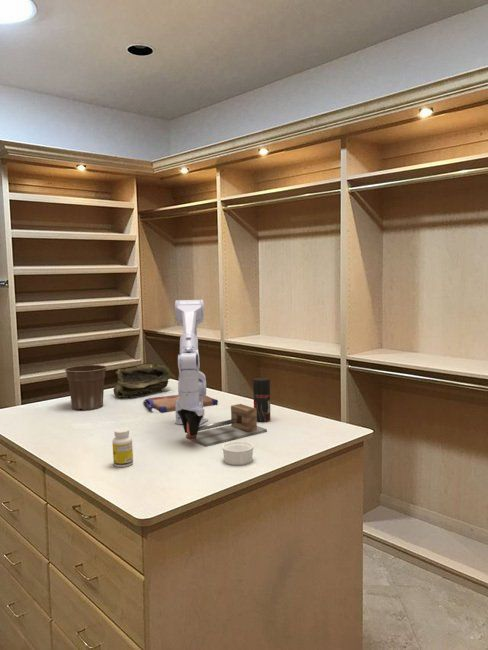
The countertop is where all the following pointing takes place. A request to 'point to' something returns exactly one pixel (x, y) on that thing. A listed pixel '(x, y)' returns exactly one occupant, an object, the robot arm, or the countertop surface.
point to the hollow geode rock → (141, 379)
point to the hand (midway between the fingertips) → (191, 433)
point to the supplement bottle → (122, 448)
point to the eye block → (232, 427)
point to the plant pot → (86, 386)
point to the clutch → (172, 402)
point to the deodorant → (262, 398)
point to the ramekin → (238, 452)
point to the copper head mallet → (209, 427)
